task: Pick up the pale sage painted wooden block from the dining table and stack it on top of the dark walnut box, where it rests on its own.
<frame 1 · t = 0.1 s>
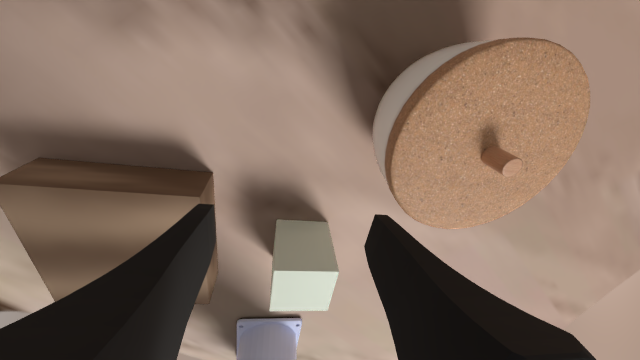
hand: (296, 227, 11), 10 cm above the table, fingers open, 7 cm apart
lidded jar: (419, 113, 20), on the table
sage block: (299, 239, 25), on the table
walnut box: (147, 222, 22), on the table
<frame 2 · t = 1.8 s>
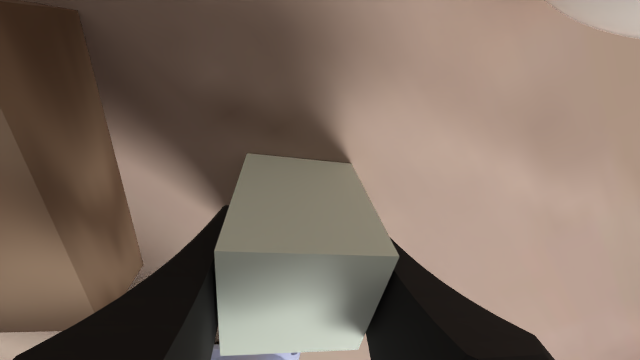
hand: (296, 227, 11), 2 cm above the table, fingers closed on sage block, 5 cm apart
sage block: (295, 201, 13), on the table, touching gripper
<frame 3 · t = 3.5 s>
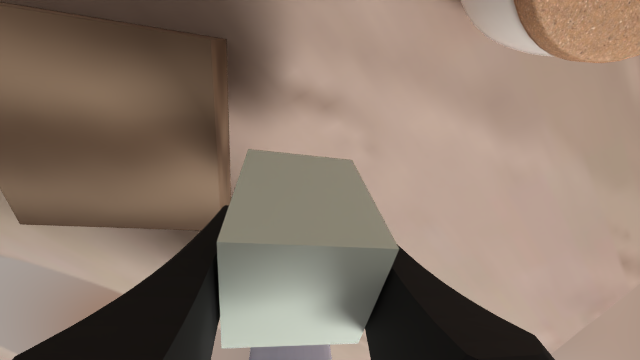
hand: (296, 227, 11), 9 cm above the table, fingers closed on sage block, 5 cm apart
sage block: (296, 197, 13), point 7 cm above the table, touching gripper
walnut box: (139, 122, 17), on the table
when the fingers open (7 cm above the table, at t = 5.0 s): sage block drops 1 cm, resting on walnut box.
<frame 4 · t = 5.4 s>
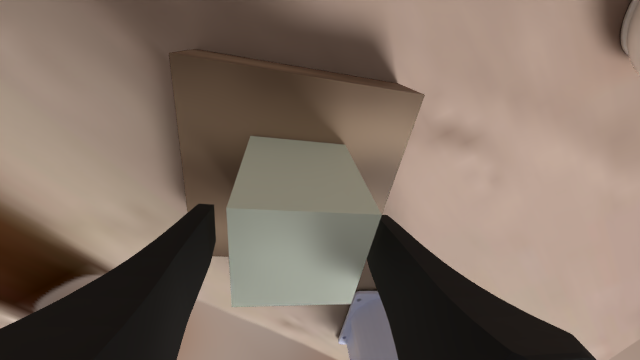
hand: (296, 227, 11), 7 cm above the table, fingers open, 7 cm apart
sage block: (294, 180, 14), point 4 cm above the table, touching walnut box
walnut box: (292, 156, 18), on the table, touching sage block
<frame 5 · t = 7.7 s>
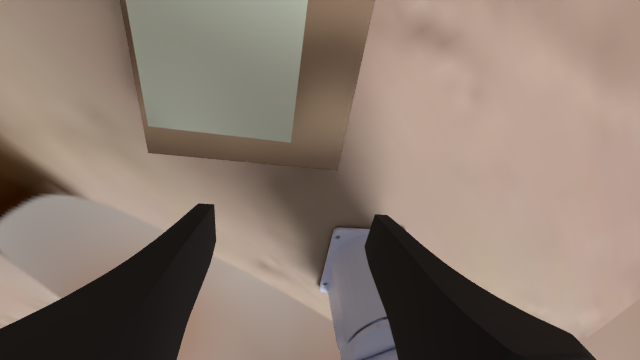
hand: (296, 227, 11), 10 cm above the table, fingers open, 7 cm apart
sage block: (246, 49, 13), point 4 cm above the table
walnut box: (258, 57, 17), on the table
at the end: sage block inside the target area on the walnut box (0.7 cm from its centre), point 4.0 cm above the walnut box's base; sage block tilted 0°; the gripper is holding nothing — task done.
